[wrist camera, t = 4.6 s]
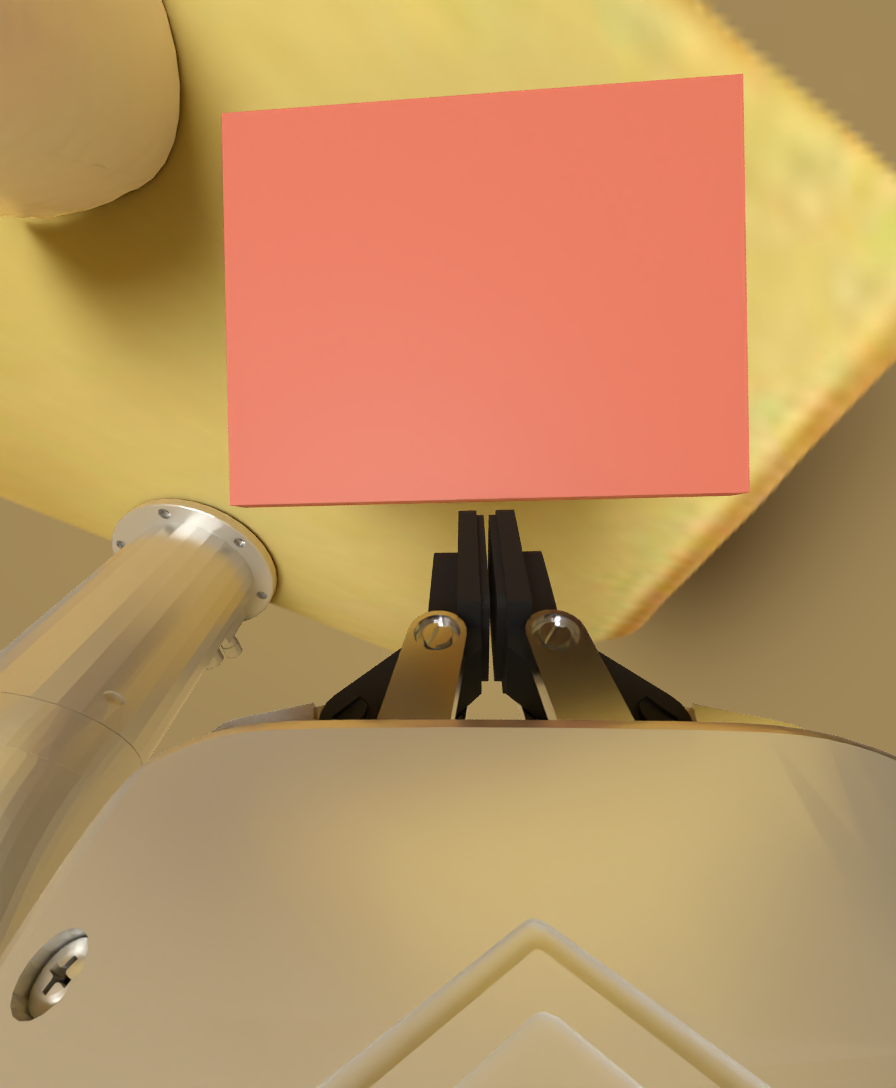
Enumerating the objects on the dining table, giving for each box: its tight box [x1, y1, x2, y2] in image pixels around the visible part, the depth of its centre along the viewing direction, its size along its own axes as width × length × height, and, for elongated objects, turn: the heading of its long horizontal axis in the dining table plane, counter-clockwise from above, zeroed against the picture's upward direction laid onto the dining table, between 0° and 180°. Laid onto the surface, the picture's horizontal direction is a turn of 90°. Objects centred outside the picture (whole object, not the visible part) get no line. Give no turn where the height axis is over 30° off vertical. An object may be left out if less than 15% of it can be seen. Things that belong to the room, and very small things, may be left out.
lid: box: [221, 74, 750, 508], centre depth 14 cm, size 14×18×1 cm
